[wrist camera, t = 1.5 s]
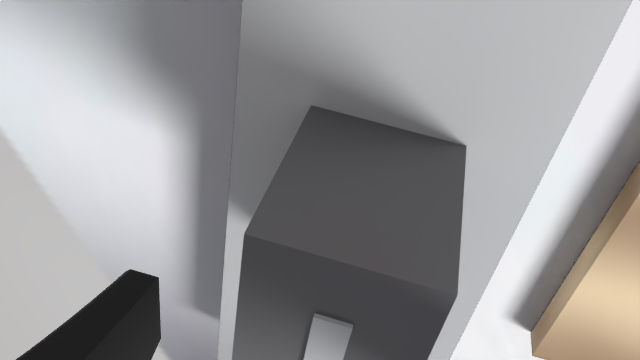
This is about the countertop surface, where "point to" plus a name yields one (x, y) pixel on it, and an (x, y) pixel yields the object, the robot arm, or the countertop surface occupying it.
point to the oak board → (599, 292)
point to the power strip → (417, 104)
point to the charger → (352, 245)
